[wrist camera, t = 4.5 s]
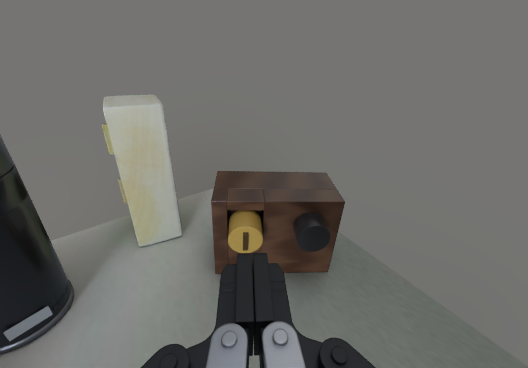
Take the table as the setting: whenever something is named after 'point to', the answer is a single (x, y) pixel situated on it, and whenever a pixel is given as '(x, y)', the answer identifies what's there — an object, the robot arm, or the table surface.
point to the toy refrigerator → (143, 165)
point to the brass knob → (245, 231)
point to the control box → (280, 217)
